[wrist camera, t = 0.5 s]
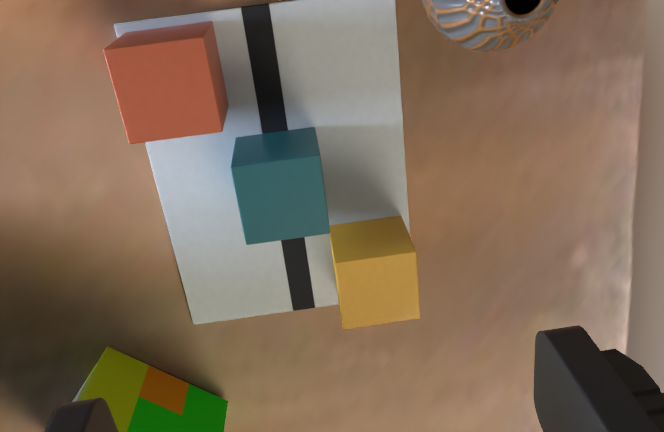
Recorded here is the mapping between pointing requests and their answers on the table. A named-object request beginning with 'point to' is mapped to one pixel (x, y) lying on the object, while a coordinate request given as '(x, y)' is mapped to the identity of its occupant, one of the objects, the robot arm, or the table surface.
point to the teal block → (280, 186)
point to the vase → (488, 21)
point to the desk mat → (274, 116)
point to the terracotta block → (168, 82)
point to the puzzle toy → (151, 397)
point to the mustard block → (375, 272)
